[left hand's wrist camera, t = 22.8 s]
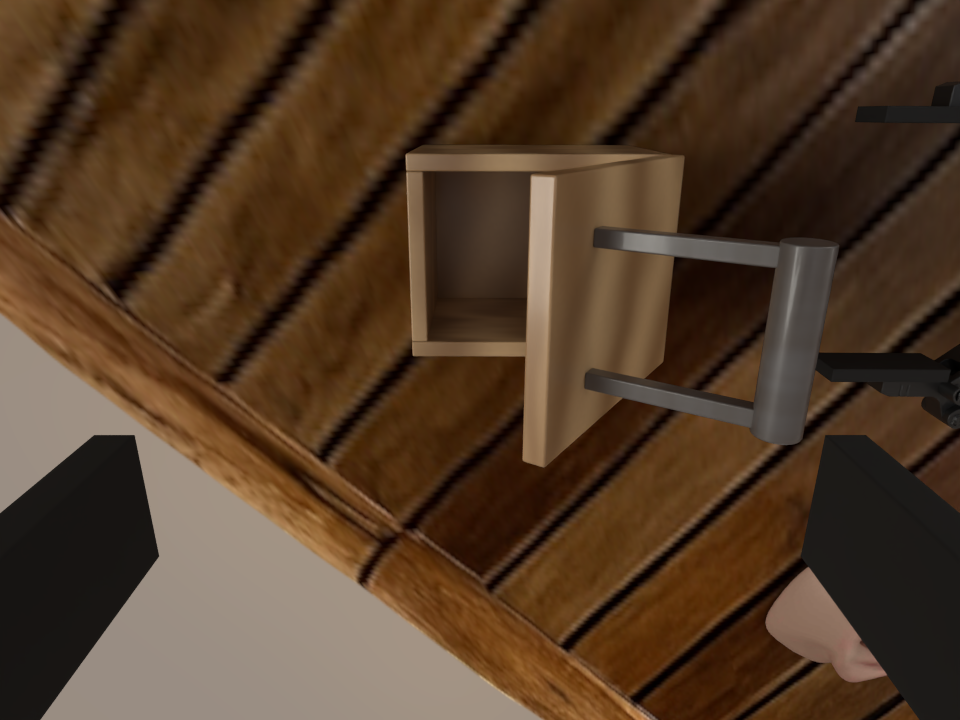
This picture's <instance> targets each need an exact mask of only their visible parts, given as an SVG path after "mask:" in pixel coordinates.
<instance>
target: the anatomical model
mask: <svg viewBox="0 0 960 720" xmlns="http://www.w3.org/2000/svg"><path fill="white" fill-rule="evenodd" d="M766 628H767V630H768V631H769V632H770V634H771V635H772V636H773V637H774V638H775V639H777V640H778V641H779V642H781V643H782V644H783V645H785V646H786V647H788V648H789V649H791V650H792V651H794V652H795V653H797V654H799V655H801V656H803V657H806V658H808V659H810V660H812V661H816V662H821V663H832V665H833V666H834V668H835V670H836V671H837V673H838V674H839V676H840V677H842V678H843V679H844V680H846V681H849V682H860V681H865V680H869V679H873V678H877V677H882V676H886V675H887V674H886V673H885V671H884V670H883V669H882V667H881V666H880V664H879V663H878V662H877V660H876V659H875V658H874V656H873V655H872V653H871V652H870V651H869V649H868V648H867V647H866V645H865V644H864V642H863V641H862V640H861V638H860V637H859V636H858V634H857V633H856V631H855V630H854V629H853V627H852V626H851V625H850V623H849V622H848V620H847V619H846V618H845V616H844V615H843V614H842V612H841V611H840V609H839V608H838V607H837V605H836V604H835V603H834V601H833V600H832V598H831V597H830V596H829V594H828V593H827V591H826V590H825V589H824V587H823V586H822V585H821V583H820V582H819V580H818V579H817V578H816V576H815V575H814V574H813V572H812V571H811V569H810V568H809V567H807V568H806V569H805V570H803V571H802V572H801V573H800V574H799V575H798V576H797V577H796V578H794V579H793V580H792V581H791V582H790V584H789V585H788V586H787V587H786V588H785V589H784V591H783V592H782V593H781V594H780V596H779V597H778V598H777V600H776V601H775V602H774V604H773V606H772V607H771V609H770V610H769V612H768V614H767V617H766Z"/></svg>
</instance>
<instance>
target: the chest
mask: <svg viewBox="0 0 960 720" xmlns="http://www.w3.org/2000/svg"><path fill="white" fill-rule="evenodd" d="M660 155H671V154H667V153H663V152H658V151H653V150H648V149H643V148H639V147H634V146H630V145H422V146H420V147H418V148H417V149H415V150H413V151H411V152H409V153H407V154H406V170H407V173H406V180H407V208H408V236H409V264H410V292H411V321H412V340H413V342H412V349H413V356H526V321H527V285H528V249H529V213H530V177H531V175H532V174H534V173H541V172H548V171H555V170H562V169H569V168H576V167H583V166H590V165H597V164H604V163H611V162H618V161H625V160H632V159H639V158H646V157H653V156H660Z"/></svg>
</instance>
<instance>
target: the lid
mask: <svg viewBox="0 0 960 720" xmlns="http://www.w3.org/2000/svg"><path fill="white" fill-rule="evenodd" d="M684 159H685V157H684V155H660V156H653V157H646V158H639V159H632V160H625V161H618V162H611V163H604V164H597V165H590V166H583V167H576V168H569V169H562V170H555V171H548V172H541V173H534V174H532V175H531V177H530V213H529V249H528V285H527V321H526V357H525V393H524V428H523V461H524V462H527V463H531V464H534V465H537V466H540V467H545V466H547V465H548V464H549V463H550V462H551V461H552V460H553V459H554V458H556V457H557V456H558V455H559V454H560V453H561V452H562V451H563V450H565V449H566V448H567V447H568V446H569V445H570V444H571V443H572V442H574V441H575V440H576V439H577V438H578V437H579V436H580V435H581V434H583V433H584V432H585V431H586V430H587V429H588V428H589V427H590V426H592V425H593V424H594V423H595V422H596V421H597V420H598V419H599V418H601V417H602V416H603V415H604V414H605V413H606V412H607V411H608V410H609V409H611V408H612V407H613V406H614V405H615V404H616V403H617V402H618V401H620V400H621V399H622V398H625V399H630V400H634V401H638V402H642V403H647V404H651V405H655V406H660V407H664V408H668V409H672V410H677V411H681V412H685V413H690V414H694V415H698V416H702V417H707V418H711V419H715V420H719V421H724V422H728V423H732V424H737V425H741V426H745V427H749V428H750V432H751V433H752V434H753V435H754V436H755V437H757V438H758V439H761V440H763V441H766V442H769V443H773V444H780V445H791V444H796V443H798V442H800V441H801V440H802V437H803V432H804V427H805V421H806V416H807V411H808V406H809V401H810V395H811V390H812V385H813V380H814V374H815V369H816V364H817V359H818V354H819V348H820V343H821V338H822V333H823V328H824V322H825V317H826V312H827V307H828V302H829V296H830V291H831V286H832V281H833V276H834V270H835V265H836V260H837V255H838V250H839V244H838V243H835V242H833V241H829V240H823V239H815V238H785V239H782V240H780V243H778V242H768V241H757V240H747V239H736V238H726V237H715V236H704V235H694V234H683V233H677V225H678V216H679V206H680V197H681V187H682V178H683V168H684ZM674 257H682V258H691V259H700V260H708V261H717V262H726V263H735V264H744V265H753V266H761V267H770V268H775V274H774V280H773V286H772V293H771V299H770V305H769V311H768V318H767V324H766V330H765V336H764V343H763V349H762V355H761V361H760V367H759V374H758V380H757V386H756V392H755V399H754V402H749V401H745V400H740V399H735V398H731V397H726V396H721V395H717V394H712V393H707V392H703V391H698V390H693V389H689V388H684V387H679V386H675V385H670V384H665V383H661V382H656V381H651V380H647V379H644V378H645V377H647V376H648V375H649V374H650V373H651V372H652V371H653V370H654V369H656V368H657V367H658V366H659V365H660V364H661V363H662V362H663V358H664V348H665V339H666V329H667V320H668V310H669V301H670V291H671V282H672V272H673V263H674Z"/></svg>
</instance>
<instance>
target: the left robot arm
mask: <svg viewBox="0 0 960 720" xmlns="http://www.w3.org/2000/svg"><path fill="white" fill-rule="evenodd" d="M158 557H159V553H158V549H157V544H156V539H155V534H154V529H153V524H152V519H151V514H150V509H149V504H148V499H147V494H146V489H145V484H144V480H143V475H142V470H141V465H140V460H139V455H138V450H137V445H136V440H135V436H134V435H94V436H93V437H92V438H90V439H89V440H88V441H87V442H86V443H84V444H83V445H82V446H81V447H79V448H78V449H77V450H76V451H75V452H74V453H72V454H71V455H70V456H69V457H67V458H66V459H65V460H64V461H63V462H61V463H60V464H59V465H58V466H57V467H55V468H54V469H53V470H52V471H51V472H49V473H48V474H47V475H46V476H45V477H43V478H42V479H41V480H40V481H39V482H37V483H36V484H35V485H34V486H33V487H31V488H30V489H29V490H28V491H27V492H25V493H24V494H23V495H22V496H21V497H19V498H18V499H17V500H16V501H14V502H13V503H12V504H11V505H10V506H8V507H7V508H6V509H5V510H4V511H2V512H1V513H0V720H40V719H41V718H42V717H43V715H44V714H45V713H46V711H47V710H48V708H49V707H50V706H51V704H52V703H53V702H54V700H55V699H56V697H57V696H58V695H59V693H60V692H61V691H62V689H63V688H64V686H65V685H66V684H67V682H68V681H69V680H70V678H71V677H72V675H73V674H74V673H75V671H76V670H77V669H78V667H79V666H80V664H81V663H82V662H83V660H84V659H85V658H86V656H87V655H88V653H89V652H90V651H91V649H92V648H93V647H94V645H95V644H96V642H97V641H98V640H99V638H100V637H101V636H102V634H103V633H104V631H105V630H106V629H107V627H108V626H109V625H110V623H111V622H112V620H113V619H114V618H115V616H116V615H117V614H118V612H119V611H120V609H121V608H122V607H123V605H124V604H125V603H126V601H127V600H128V598H129V597H130V596H131V594H132V593H133V591H134V590H135V589H136V587H137V586H138V585H139V583H140V582H141V580H142V579H143V578H144V576H145V575H146V574H147V572H148V571H149V569H150V568H151V567H152V565H153V564H154V562H155V561H156V560H157V558H158ZM801 557H802V558H803V560H804V561H805V563H806V564H807V565H808V567H809V568H810V569H811V571H812V572H813V574H814V575H815V576H816V578H817V579H818V580H819V582H820V583H821V585H822V586H823V587H824V589H825V590H826V591H827V593H828V594H829V596H830V597H831V598H832V600H833V601H834V603H835V604H836V605H837V607H838V608H839V609H840V611H841V612H842V614H843V615H844V616H845V618H846V619H847V620H848V622H849V623H850V625H851V626H852V627H853V629H854V630H855V631H856V633H857V634H858V636H859V637H860V638H861V640H862V641H863V642H864V644H865V645H866V647H867V648H868V649H869V651H870V652H871V653H872V655H873V656H874V658H875V659H876V660H877V662H878V663H879V664H880V666H881V667H882V669H883V670H884V671H885V673H886V674H887V675H888V677H889V678H890V680H891V681H892V682H893V684H894V685H895V686H896V688H897V689H898V691H899V692H900V693H901V695H902V696H903V697H904V699H905V700H906V702H907V703H908V704H909V706H910V707H911V708H912V710H913V711H914V713H915V714H916V715H917V717H918V718H919V719H920V720H960V513H959V512H958V511H956V510H955V509H954V508H953V507H952V506H950V505H949V504H948V503H947V502H946V501H944V500H943V499H942V498H941V497H940V496H938V495H937V494H936V493H935V492H933V491H932V490H931V489H930V488H929V487H927V486H926V485H925V484H924V483H923V482H921V481H920V480H919V479H918V478H917V477H915V476H914V475H913V474H912V473H911V472H909V471H908V470H907V469H906V468H905V467H903V466H902V465H901V464H900V463H899V462H897V461H896V460H895V459H894V458H893V457H891V456H890V455H889V454H888V453H887V452H885V451H884V450H883V449H882V448H881V447H879V446H878V445H877V444H876V443H875V442H873V441H872V440H871V439H870V438H868V437H867V436H866V435H825V440H824V445H823V450H822V455H821V460H820V465H819V470H818V475H817V480H816V484H815V489H814V494H813V499H812V504H811V509H810V514H809V519H808V524H807V529H806V534H805V539H804V544H803V549H802V553H801Z"/></svg>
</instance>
